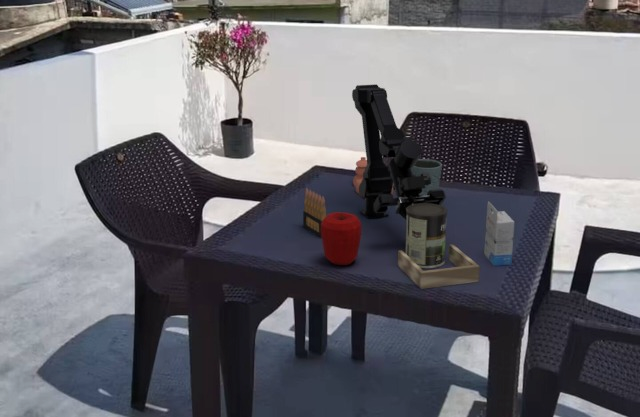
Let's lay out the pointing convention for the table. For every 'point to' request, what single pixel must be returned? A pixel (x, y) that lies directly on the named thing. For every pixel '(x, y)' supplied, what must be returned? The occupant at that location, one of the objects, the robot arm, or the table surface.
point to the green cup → (428, 167)
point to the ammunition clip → (313, 212)
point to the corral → (441, 270)
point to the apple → (341, 237)
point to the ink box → (498, 237)
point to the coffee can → (426, 234)
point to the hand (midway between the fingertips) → (417, 229)
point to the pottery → (361, 173)
